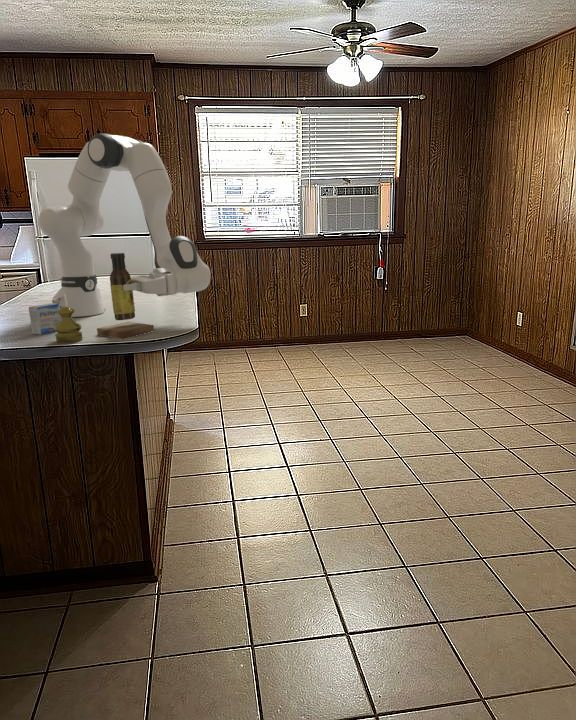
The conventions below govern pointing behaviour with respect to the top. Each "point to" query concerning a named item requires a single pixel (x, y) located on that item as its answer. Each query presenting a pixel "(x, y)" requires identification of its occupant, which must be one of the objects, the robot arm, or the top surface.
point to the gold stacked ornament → (67, 327)
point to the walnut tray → (125, 330)
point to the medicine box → (44, 318)
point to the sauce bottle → (121, 298)
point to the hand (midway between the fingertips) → (118, 286)
